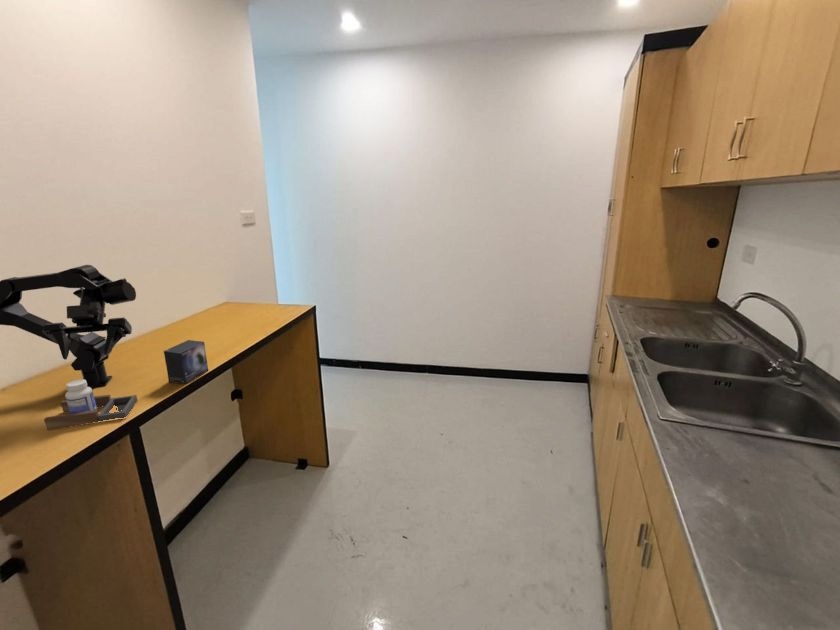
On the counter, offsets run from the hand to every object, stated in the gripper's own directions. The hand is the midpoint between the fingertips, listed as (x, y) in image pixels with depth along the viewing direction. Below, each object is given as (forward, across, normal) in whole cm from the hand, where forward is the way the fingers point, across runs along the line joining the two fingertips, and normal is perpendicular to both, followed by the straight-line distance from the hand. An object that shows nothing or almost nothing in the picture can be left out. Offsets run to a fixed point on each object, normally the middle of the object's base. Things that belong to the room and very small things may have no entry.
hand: (85, 356), depth 109 cm
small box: (+3, +22, +17) cm, 27 cm away
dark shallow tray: (+15, +8, +4) cm, 18 cm away
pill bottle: (+16, 0, +4) cm, 16 cm away
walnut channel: (+15, -1, +4) cm, 16 cm away
